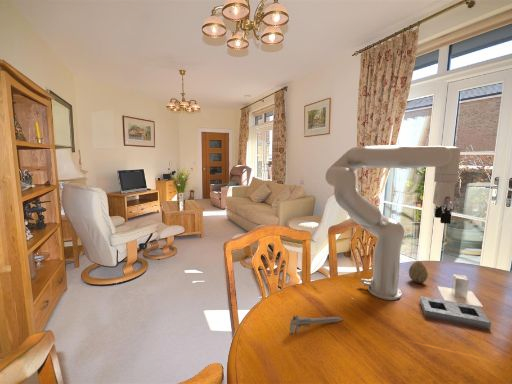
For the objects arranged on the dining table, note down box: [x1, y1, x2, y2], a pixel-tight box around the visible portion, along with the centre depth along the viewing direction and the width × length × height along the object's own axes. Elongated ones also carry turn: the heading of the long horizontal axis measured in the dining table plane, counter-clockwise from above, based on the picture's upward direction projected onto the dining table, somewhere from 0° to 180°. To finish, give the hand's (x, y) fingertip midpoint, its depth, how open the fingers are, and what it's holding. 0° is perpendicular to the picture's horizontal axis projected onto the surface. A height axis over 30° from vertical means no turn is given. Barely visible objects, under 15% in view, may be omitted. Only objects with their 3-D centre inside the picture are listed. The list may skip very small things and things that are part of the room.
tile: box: [436, 285, 484, 308], centre depth 104 cm, size 12×12×1 cm
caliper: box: [289, 315, 344, 335], centre depth 87 cm, size 20×1×6 cm, turn 111°
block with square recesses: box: [419, 295, 492, 331], centre depth 92 cm, size 18×10×3 cm, turn 67°
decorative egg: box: [408, 260, 429, 284], centre depth 116 cm, size 7×7×10 cm
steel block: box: [451, 273, 470, 299], centre depth 104 cm, size 4×4×8 cm
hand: (442, 220), depth 106 cm, fingers open, 9 cm apart
